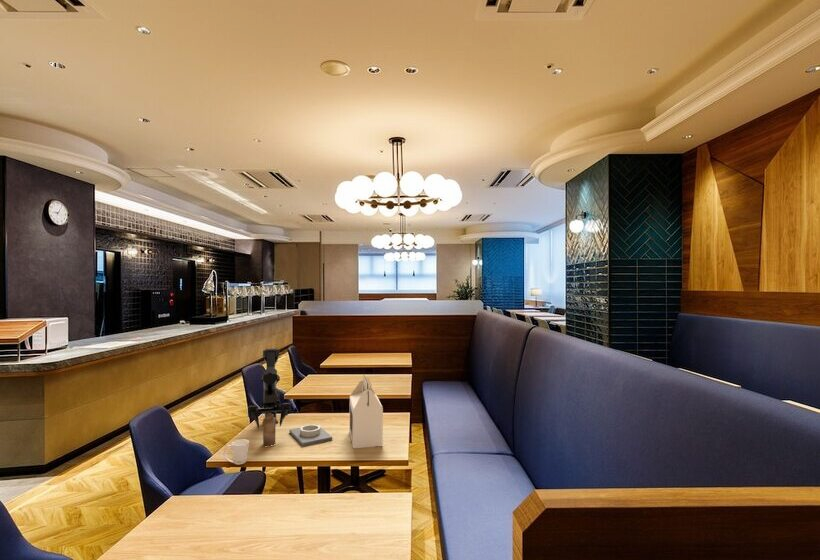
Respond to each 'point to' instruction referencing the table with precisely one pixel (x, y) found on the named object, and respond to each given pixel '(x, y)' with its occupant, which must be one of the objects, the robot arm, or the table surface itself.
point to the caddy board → (311, 439)
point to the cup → (238, 451)
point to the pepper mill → (269, 430)
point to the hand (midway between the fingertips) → (269, 427)
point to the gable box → (365, 416)
